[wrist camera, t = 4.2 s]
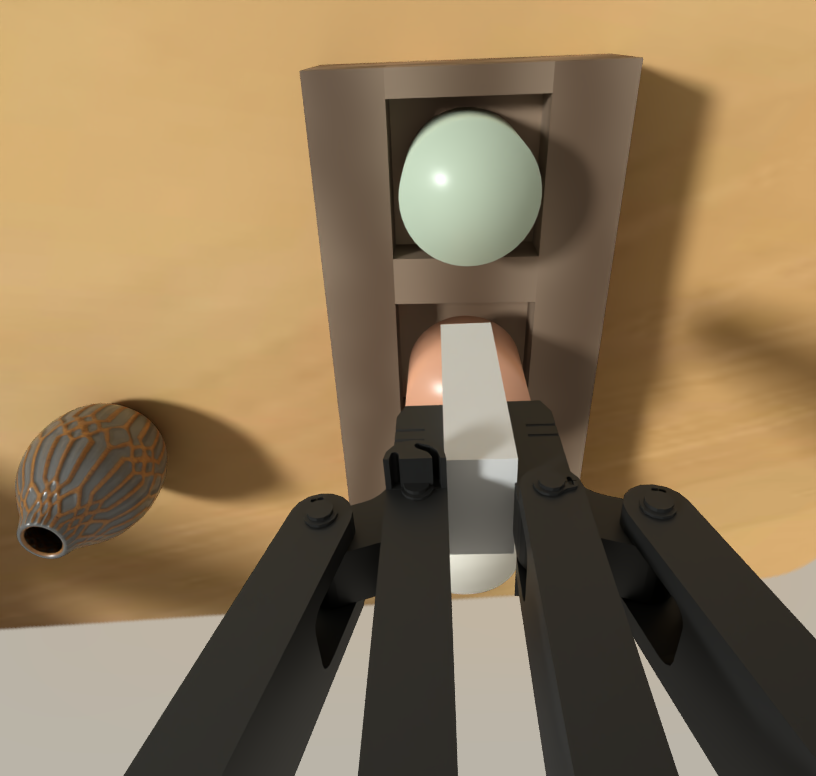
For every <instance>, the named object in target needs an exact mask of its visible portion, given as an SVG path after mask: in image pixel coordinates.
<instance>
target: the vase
mask: <svg viewBox="0 0 816 776" xmlns="http://www.w3.org/2000/svg"><path fill="white" fill-rule="evenodd" d="M166 471H167V449H166V445H165V443H164V440H163V438H162V436H161V434H160V432H159V431H158V429H157V428H156V427H155V425H154V424H153V423H152V422H151V421H150V420H149V419H147V418H146V417H145V416H144V415H142V414H141V413H139V412H137V411H135V410H133V409H130V408H128V407H125V406H121V405H116V404H91V405H87V406H83V407H80V408H77V409H75V410H72V411H70V412H68V413H66V414H64V415H62V416H60V417H59V418H57V419H56V420H54V421H53V422H52V423H51V424H49V425H48V426H47V427H46V428H45V429H44V430H43V431H41V432H40V433H39V435H38V436H37V437H36V438H35V439H34V440H33V441H32V443H31V444H30V446H29V447H28V449H27V450H26V452H25V454H24V456H23V458H22V460H21V463H20V465H19V468H18V471H17V475H16V481H15V495H16V502H17V507H18V512H19V524H18V529H17V538H18V541H19V543H20V544H21V545H22V546H23V547H24V548H25V549H26V550H27V551H29V552H30V553H32V554H34V555H36V556H39V557H42V558H48V559H55V558H59V557H62V556H64V555H66V554H67V553H69V552H71V551H73V550H74V549H77V548H80V547H85V546H89V545H93V544H97V543H100V542H104V541H107V540H109V539H112V538H114V537H116V536H118V535H119V534H121V533H123V532H124V531H126V530H127V529H129V528H130V527H131V526H133V525H134V524H135V523H136V522H137V521H138V520H140V519H141V518H142V517H143V516H144V515H145V513H146V512H147V511H148V510H149V509H150V507H151V506H152V504H153V503H154V501H155V500H156V498H157V496H158V494H159V492H160V490H161V488H162V486H163V483H164V480H165V476H166Z"/></svg>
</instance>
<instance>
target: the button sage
mask: <svg viewBox="0 0 816 776" xmlns="http://www.w3.org/2000/svg"><path fill="white" fill-rule="evenodd" d="M541 198H542V182H541V175H540V171H539V167H538V165H537V162H536V160H535V158H534V156H533V154H532V152H531V151H530V149H529V148H528V147H527V145H526V144H525V143H524V141H523V140H522V139H521V138H520V136H519V135H518V134H517V133H516V131H515V130H514V129H513V128H512V126H511V125H510V124H509V123H508V122H507V121H506V120H504V119H503V118H502V117H500V116H499V115H497V114H495V113H493V112H491V111H488V110H485V109H482V108H477V107H459V108H454V109H450V110H447V111H445V112H443V113H440V114H439V115H437V116H435V117H434V118H432V119H431V120H430V121H428V122H427V123H426V124H425V125H424V126H423V127H422V128H421V129H420V131H419V132H418V133H417V134H416V136H415V137H414V139H413V141H412V143H411V145H410V147H409V150H408V152H407V156H406V160H405V164H404V168H403V172H402V176H401V180H400V186H399V207H400V212H401V217H402V220H403V222H404V225H405V227H406V229H407V231H408V233H409V235H410V236H411V237H412V239H413V240H414V242H415V243H416V244H417V245H418V246H419V247H420V248H421V249H422V250H424V251H425V252H426V253H427V254H429V255H430V256H432V257H434V258H435V259H437V260H440V261H442V262H445V263H448V264H451V265H457V266H478V265H483V264H487V263H490V262H493V261H495V260H497V259H499V258H501V257H503V256H505V255H506V254H508V253H510V252H511V251H512V250H513V249H515V248H516V247H517V246H518V245H519V244H520V243H521V242H522V241H523V240H524V239H525V237H526V236H527V234H528V233H529V232H530V230H531V228H532V226H533V225H534V223H535V220H536V218H537V216H538V212H539V209H540V205H541Z"/></svg>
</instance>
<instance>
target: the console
mask: <svg viewBox="0 0 816 776" xmlns="http://www.w3.org/2000/svg"><path fill="white" fill-rule="evenodd" d="M642 62H643V58H641V57H633V56H625V55H617V54H592V55H567V56H541V57H515V58H489V59H464V60H438V61H412V62H386V63H360V64H335V65H319V66H315V67H312V68H308V69H305V70H301V71H300V79H301V87H302V96H303V105H304V113H305V122H306V131H307V139H308V148H309V157H310V165H311V174H312V183H313V191H314V200H315V209H316V217H317V226H318V235H319V243H320V252H321V261H322V269H323V278H324V287H325V295H326V304H327V313H328V321H329V330H330V339H331V347H332V356H333V365H334V373H335V382H336V390H337V399H338V408H339V416H340V425H341V434H342V442H343V451H344V460H345V468H346V477H347V486H348V494H349V503H350V505H354V504H358V503H362V502H365V501H368V500H371V499H373V498H375V497H376V496H378V495H380V494H381V493H382V492H383V491H384V490H385V489H386V485H385V476H384V466H383V458H384V455H385V453H386V451H388V450H389V449H390V448H391V447H392V446H394V442H395V432H396V420H397V416H398V415H399V414H400V412H401V411H402V410H403V409H404V407H405V405H406V393H407V382H408V370H409V359H410V354H411V351H412V348H413V346H414V344H415V342H416V341H417V340H418V338H419V337H420V336H421V335H422V333H423V332H424V331H426V330H427V329H428V328H429V327H431V326H432V325H434V324H435V323H437V322H439V321H442V320H444V319H447V318H451V317H456V316H476V317H481V318H484V319H487V320H490V321H492V322H494V323H496V324H497V325H499V326H500V327H502V328H503V329H504V330H505V331H506V332H507V333H508V334H509V335H510V336H511V338H512V339H513V341H514V342H515V344H516V346H517V349H518V353H519V356H520V360H521V364H522V368H523V372H524V376H525V380H526V384H527V388H528V392H529V396H530V400H531V401H534V400H540V401H541V402H542V403H543V404H545V405H546V406H547V407H548V408H549V409H550V410H551V411H552V414H553V417H554V420H555V426H556V427H557V430H558V433H559V436H560V440H561V443H562V446H563V449H564V452H565V455H566V459H567V462H568V465H569V468H570V471H571V472H572V473H573V474H575V475H576V476H577V477H578V478H579V479H580V475H581V469H582V462H583V455H584V449H585V442H586V435H587V429H588V422H589V415H590V409H591V402H592V395H593V389H594V382H595V375H596V369H597V362H598V355H599V349H600V342H601V335H602V329H603V322H604V315H605V309H606V302H607V295H608V289H609V282H610V275H611V269H612V262H613V255H614V249H615V242H616V235H617V229H618V222H619V215H620V209H621V202H622V195H623V189H624V182H625V175H626V169H627V162H628V155H629V149H630V142H631V135H632V129H633V122H634V115H635V109H636V102H637V95H638V89H639V82H640V75H641V69H642ZM459 107H477V108H482V109H485V110H488V111H491V112H493V113H495V114H497V115H499V116H500V117H502V118H503V119H504V120H506V121H507V122H508V123H509V124H510V125H511V126H512V128H513V129H514V130H515V131H516V133H517V134H518V135H519V136H520V138H521V139H522V140H523V141H524V143H525V144H526V145H527V147H528V148H529V149H530V151H531V152H532V154H533V156H534V158H535V160H536V162H537V165H538V167H539V171H540V175H541V182H542V198H541V205H540V209H539V212H538V216H537V218H536V220H535V223H534V225H533V226H532V228H531V230H530V232H529V233H528V234H527V236H526V237H525V239H524V240H523V241H522V242H521V243H520V244H519V245H518V246H517V247H516V248H515V249H513V250H512V251H511V252H510V253H508V254H506V255H505V256H503V257H501V258H499V259H497V260H495V261H493V262H490V263H487V264H483V265H478V266H457V265H451V264H448V263H445V262H442V261H440V260H437V259H435V258H434V257H432V256H430V255H429V254H427V253H426V252H425V251H424V250H422V249H421V248H420V247H419V246H418V245H417V244H416V243H415V242H414V240H413V239H412V237H411V236H410V235H409V233H408V231H407V229H406V227H405V225H404V222H403V220H402V217H401V212H400V207H399V186H400V180H401V176H402V172H403V168H404V164H405V160H406V156H407V152H408V150H409V147H410V145H411V143H412V141H413V139H414V137H415V136H416V134H417V133H418V132H419V131H420V129H421V128H422V127H423V126H424V125H425V124H426V123H427V122H428V121H430V120H431V119H432V118H434V117H435V116H437V115H439V114H440V113H443V112H445V111H447V110H450V109H454V108H459Z"/></svg>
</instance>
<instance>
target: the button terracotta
mask: <svg viewBox="0 0 816 776" xmlns="http://www.w3.org/2000/svg"><path fill="white" fill-rule="evenodd" d="M466 323H491V327H492V332H493V337H494V342H495V346H496V351H497V356H498V361H499V366H500V371H501V376H502V381H503V386H504V391H505V396H506V401H531V400H530V396H529V392H528V388H527V384H526V380H525V376H524V372H523V368H522V364H521V360H520V356H519V353H518V349H517V346H516V344H515V342H514V341H513V339H512V338H511V336H510V335H509V334H508V333H507V332H506V331H505V330H504V329H503V328H502V327H500V326H499V325H497V324H496V323H494V322H492V321H490V320H487V319H484V318H481V317H476V316H456V317H451V318H447V319H444V320H442V321H439V322H437V323H435V324H434V325H432V326H431V327H429V328H428V329H427V330H426V331H424V332H423V333H422V335H421V336H420V337H419V338H418V340H417V341H416V342H415V344H414V346H413V348H412V351H411V354H410V359H409V370H408V382H407V393H406V405H405V406H421V405H443V394H442V357H441V325H442V324H466Z"/></svg>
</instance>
